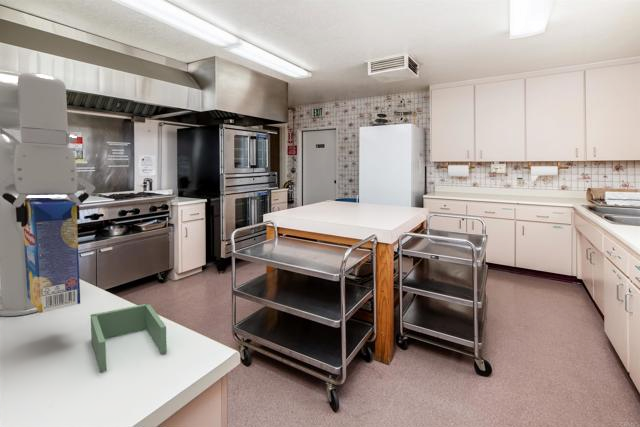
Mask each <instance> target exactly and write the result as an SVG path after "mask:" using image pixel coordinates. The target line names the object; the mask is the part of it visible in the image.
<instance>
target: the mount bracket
mask: <svg viewBox="0 0 640 427" xmlns="http://www.w3.org/2000/svg"><path fill="white" fill-rule="evenodd" d="M90 330H91V342H92V346H93V350H94V354H95V357H96V361H97V364H98V368H99V372H100V373H102V372H106V371H107V351H106V350H107V348H106V347H107V346H106V339H111V338H113V337H114V338H115V337H118V336H122V335H127V334H130V333H135V332H138V331H143V330H146V331H147V333H148V335H149V336H150V337H152V338H151V339H152V340H153V342H154V345H155V346H156V347H157V349H158V351H159V352H160V355H164V354H167V352H168V350H167V325H166V324H165V323H164V322H163V320H162V318H161V317H160V316H159V315H158V313H157V312H156V311H155V309H154V308H153V307H152V305H151V304H150V302H149V303H144V304H137V305H133V306H130V307H129V306H128V307H122V308H118V309H113V310H108V311H104V312H103V311H102V312H97V313H93V314H90Z"/></svg>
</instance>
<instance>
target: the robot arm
mask: <svg viewBox="0 0 640 427" xmlns="http://www.w3.org/2000/svg"><path fill="white" fill-rule="evenodd" d="M67 106H68V103H67V86H66V84H65V82H64V81H62V80H61V79H60V78H58V77H55V76H51V75H48V74H40V73H33V72H27V73H26V72H22V71H17V70H11V69H8V68H0V294H1V296H0V297H1V302H0V316H1V317H17V316H24V315H29V314H34V313H37V312H39V311H38V309H37V308H36V307H35V306H34V304H33V303H32V302H31V301H30V299H29V298H28V295H27V279H26V263H25V248H24V232H23V227H25V226H26V208H25V206H24V203H23V202H24V201H25V199H26V198H38V197H63V198H65V199H68V200H70V201H73V202H76V207H77V221H79V220H80V218H81V217H80V214H81V213H80V206H81V205H82V204H83V203H84V202H85V201H86V200H87V199H88V198H89V197H90V196H91V195H92V193H93V192H94V191H96V186H95V185H94V184H92V183H90V182H89V181H87V180H85V179H84V178H82V177H81V176H79V175H78V170H77V162H76V157H75V153H74V152H75V151H74V148H73V147H69V145H70V144H72V143H77V142H78V140H77V139H78V138H77V135H72V134H69V127H68V126H69V125H68V107H67ZM5 130H13V131H14V130H15V131H20V133H19V134H20V141H19V140H18V139H17V138H16V137H14V135H12V134H10V133H9V132H7V131H5ZM79 185H81V186H83V187H84V188H85V190H84V191H83V192H82V193H80V194H79V196H77V195H76V193H77V192H78V188H79Z"/></svg>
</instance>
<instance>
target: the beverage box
mask: <svg viewBox="0 0 640 427" xmlns="http://www.w3.org/2000/svg"><path fill="white" fill-rule="evenodd" d="M23 203H24V206H25V208H26V226H25V227H23V232H24V248H25V263H26V279H27V295H28V298H29V299H30V301H31V302H32V303H33V304H34V306H35V307H36V308H37V309H38V312H39V313H40V314H42V313H45V312H50V311H54V310H55V311H56V310H59V309H62V308H67V307H72V306H76V305H80V304H81V286H80V263H79V262H80V261H79V260H80V259H79V238H78V220H77V207H76V202H73V201H70V200H68V199H65V198H63V197H38V198H26V199H25V201H24V202H23Z"/></svg>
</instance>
